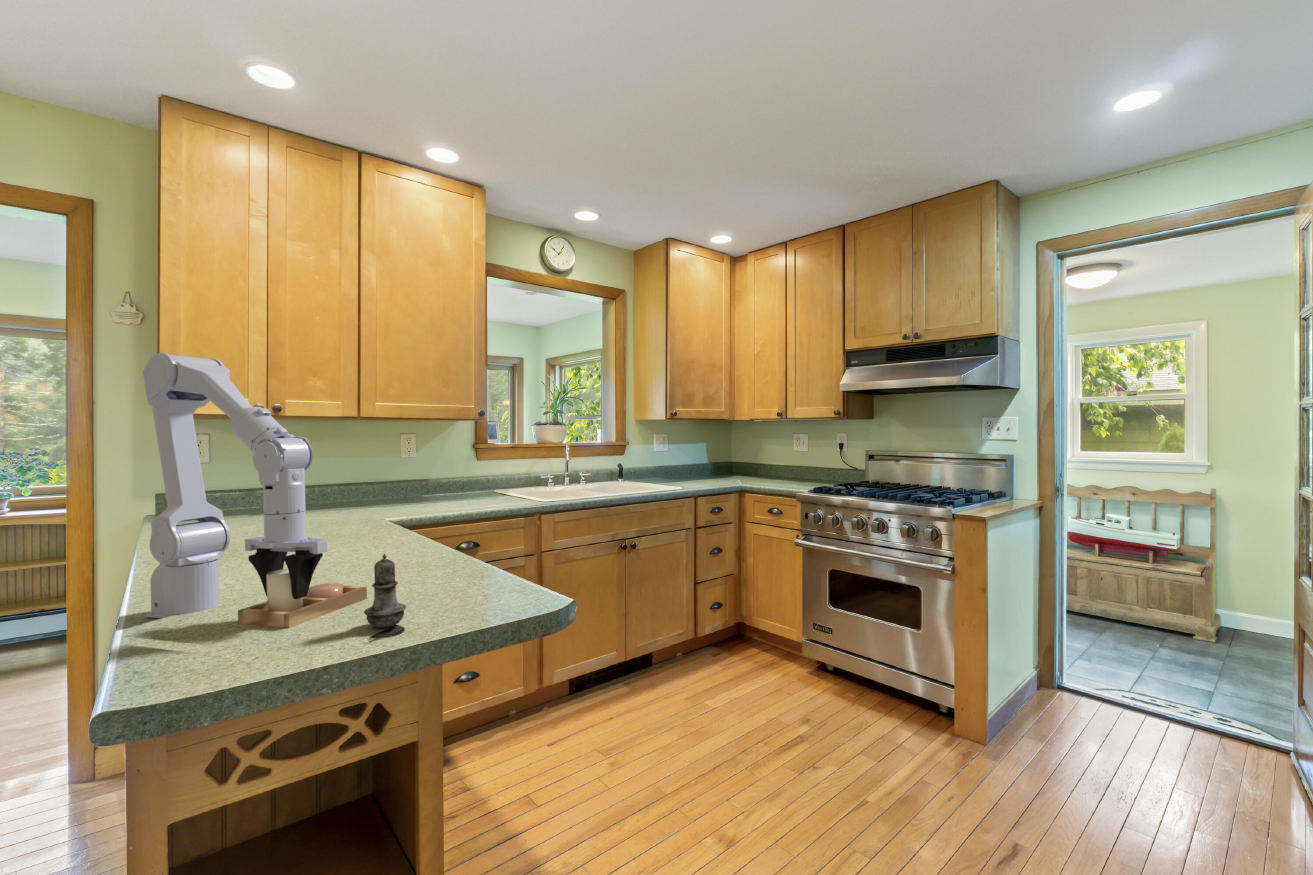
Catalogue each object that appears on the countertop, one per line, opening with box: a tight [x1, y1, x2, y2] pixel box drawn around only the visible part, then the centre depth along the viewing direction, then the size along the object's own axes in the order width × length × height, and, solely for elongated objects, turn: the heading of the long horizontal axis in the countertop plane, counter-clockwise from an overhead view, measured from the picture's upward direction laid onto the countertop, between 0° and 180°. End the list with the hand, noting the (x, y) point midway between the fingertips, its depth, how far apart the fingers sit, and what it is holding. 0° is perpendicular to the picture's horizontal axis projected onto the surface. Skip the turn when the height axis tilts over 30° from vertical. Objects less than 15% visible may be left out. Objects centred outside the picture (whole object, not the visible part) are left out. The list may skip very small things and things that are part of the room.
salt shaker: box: [363, 553, 407, 639], centre depth 89 cm, size 6×6×12 cm
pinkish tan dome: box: [306, 582, 344, 599], centre depth 102 cm, size 6×6×3 cm
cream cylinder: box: [266, 568, 303, 612], centre depth 94 cm, size 5×5×6 cm
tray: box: [237, 585, 368, 629], centre depth 98 cm, size 10×16×3 cm, turn 165°
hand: (286, 596), depth 95 cm, fingers closed on cream cylinder, 5 cm apart
